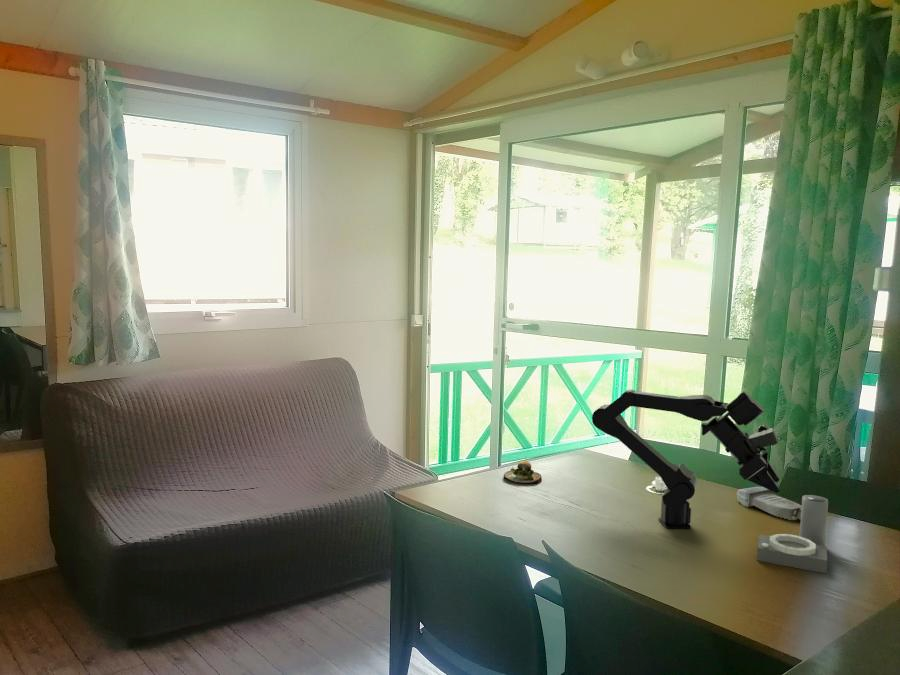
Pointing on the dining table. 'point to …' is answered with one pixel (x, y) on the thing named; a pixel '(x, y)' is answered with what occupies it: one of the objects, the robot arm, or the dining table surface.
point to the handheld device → (769, 502)
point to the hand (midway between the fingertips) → (778, 486)
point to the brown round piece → (523, 473)
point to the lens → (814, 518)
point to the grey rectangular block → (792, 552)
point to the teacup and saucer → (657, 485)
